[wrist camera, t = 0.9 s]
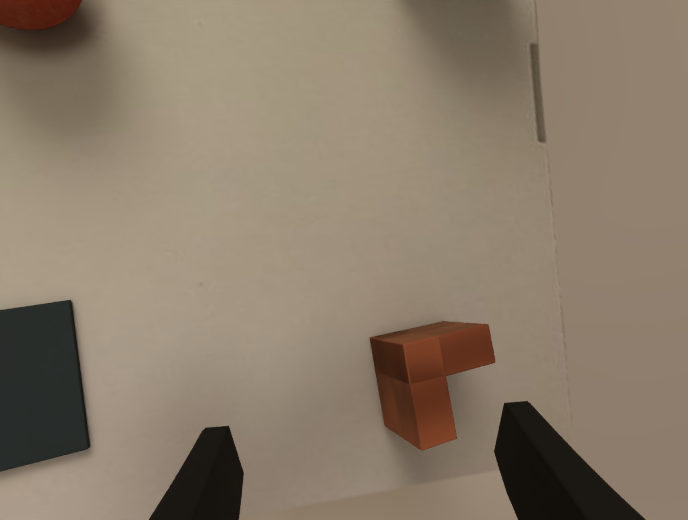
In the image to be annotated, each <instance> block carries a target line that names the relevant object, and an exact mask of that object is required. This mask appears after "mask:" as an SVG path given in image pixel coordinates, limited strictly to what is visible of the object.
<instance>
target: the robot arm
mask: <svg viewBox="0 0 688 520" xmlns="http://www.w3.org/2000/svg"><path fill="white" fill-rule="evenodd" d="M494 453H495V456H496V460H497V463H498V466H499V470H500V473H501V476H502V479H503V482H504V485H505V488H506V491H507V494H508V496H509V499H510V501H511V504H512V506H513V508H514V511H515V513H516V516H517V518H518V520H645V519H644V518H643V517H642V516H641V515H640V514H639V513H638V512H637V511H636V510H635V509H633V508H632V507H631V506H630V505H629V504H628V503H627V502H626V501H625V500H624V499H623V498H622V497H620V495H619V494H617V492H615V491H614V490H613V489H612V488H611V487H610V486H609V485H608V484H607V483H606V482H605V481H604V480H603V479H602V478H601V477H600V476H599V475H598V474H597V473H596V472H595V471H594V470H593V469H592V468H591V467H590V466H589V465H588V464H587V463H586V462H585V461H584V460H583V459H582V458H581V457H580V456H579V455H578V454H577V453H576V452H575V451H574V450H573V449H572V448H571V446H570V445H569V444H568V443H567V442H566V441H565V440H564V439H563V438H562V437H561V436H560V435H559V434H558V433H557V432H556V431H555V430H554V429H553V428H552V426H551V425H550V424H549V423H548V422H547V421H546V420H545V419H544V418H543V417H542V416H541V415H540V413H539V412H538V411H537V410H536V409H535V408H534V407H533V406H532V405H531V404H530V403H529V402H528V401H523V402H511V403H504V406H503V411H502V416H501V421H500V426H499V431H498V435H497V440H496V445H495V450H494ZM243 475H244V472H243V469H242V466H241V463H240V460H239V457H238V453H237V450H236V447H235V444H234V441H233V438H232V434H231V431H230V428H229V426H222V427H210V428H205V429H204V430H203V431H202V432H201V434H200V436H199V438H198V439H197V441H196V443H195V445H194V446H193V448H192V450H191V452H190V453H189V455H188V457H187V459H186V460H185V462H184V464H183V465H182V467H181V469H180V470H179V472H178V474H177V475H176V477H175V479H174V480H173V482H172V484H171V485H170V487H169V489H168V490H167V492H166V493H165V495H164V496H163V498H162V500H161V501H160V503H159V504H158V506H157V507H156V509H155V511H154V512H153V514H152V515H151V517H150V518H149V520H239V514H240V505H241V496H242V485H243Z"/></svg>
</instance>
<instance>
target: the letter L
mask: <svg viewBox="0 0 688 520" xmlns="http://www.w3.org/2000/svg"><path fill="white" fill-rule="evenodd" d="M370 341H371V347H372V353H373V359H374V365H375V371H376V377H377V382H378V388H379V394H380V400H381V406H382V412H383V418H384V424H385V426H386V427H388V428H389V429H390V430H392V431H393V432H395V433H396V434H398V435H399V436H401V437H402V438H404V439H405V440H407V441H408V442H410V443H411V444H413V445H414V446H415V447H417V448H418V449H420V450H425V449H428V448H431V447H434V446H437V445H440V444H443V443H445V442H448V441H451V440H454V439H457V436H456V430H455V424H454V419H453V413H452V408H451V402H450V397H449V391H448V386H447V380H446V376H448V375H452V374H456V373H459V372H463V371H467V370H470V369H474V368H478V367H481V366H485V365H489V364H492V363H495V357H494V351H493V346H492V341H491V335H490V330H489V325H488V324H477V323H462V322H446V321H443V322H439V323H434V324H430V325H425V326H420V327H416V328H411V329H407V330H402V331H398V332H393V333H388V334H384V335H379V336H375V337H371V338H370Z"/></svg>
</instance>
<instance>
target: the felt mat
mask: <svg viewBox="0 0 688 520" xmlns="http://www.w3.org/2000/svg"><path fill="white" fill-rule="evenodd" d="M89 447H90V444H89V436H88V428H87V420H86V412H85V404H84V397H83V389H82V381H81V373H80V365H79V357H78V349H77V341H76V333H75V326H74V318H73V310H72V302H71V300H67V301H60V302H53V303H46V304H39V305H33V306H26V307H19V308H12V309H5V310H0V471H4V470H8V469H12V468H16V467H20V466H24V465H28V464H31V463H35V462H39V461H43V460H47V459H51V458H55V457H59V456H63V455H67V454H71V453H74V452H78V451H82V450H86V449H88V448H89Z"/></svg>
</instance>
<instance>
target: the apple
mask: <svg viewBox="0 0 688 520" xmlns="http://www.w3.org/2000/svg"><path fill="white" fill-rule="evenodd" d="M81 1H82V0H0V24H1V25H5V26H8V27H12V28H18V29H26V30H38V29H45V28H49V27H53V26H55V25H58V24H60V23H62V22H63V21H65V20H67V19H68V18H69V17H70V16H71V15H72V14H73V13H74V12H75V11H76V10H77V8H78V7H79V5H80V3H81Z"/></svg>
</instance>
